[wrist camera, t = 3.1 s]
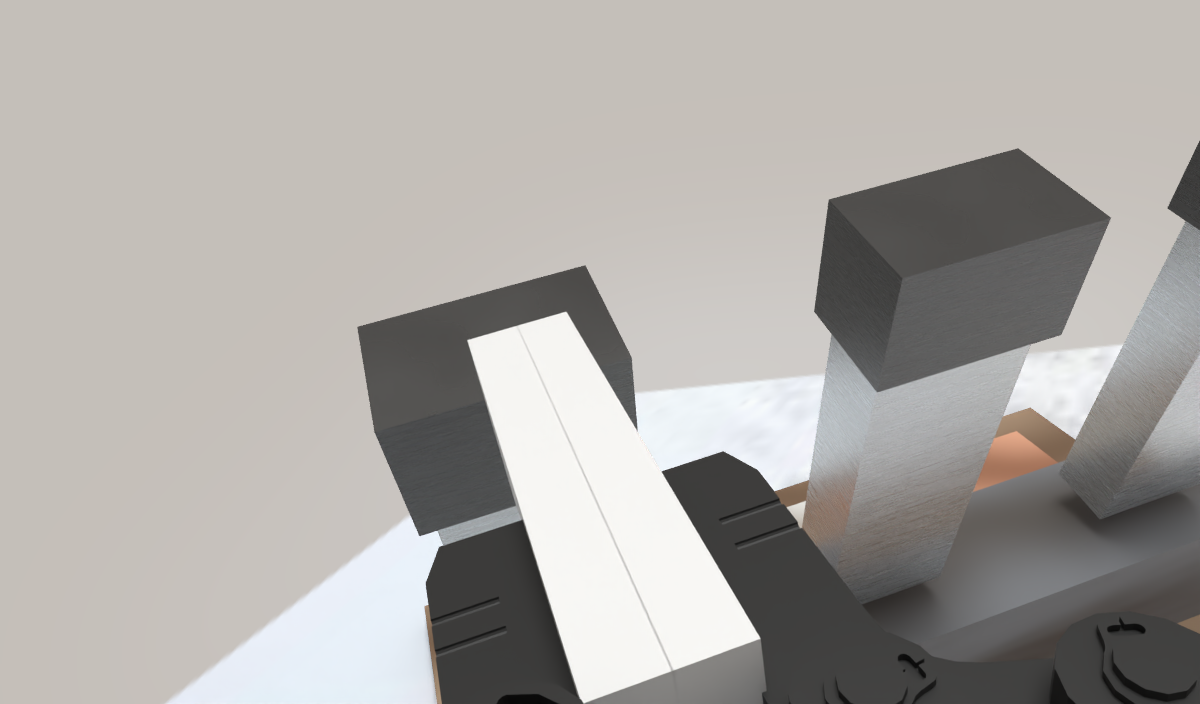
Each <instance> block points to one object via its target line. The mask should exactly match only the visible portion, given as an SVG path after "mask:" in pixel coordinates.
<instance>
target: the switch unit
mask: <svg viewBox="0 0 1200 704" xmlns="http://www.w3.org/2000/svg"><path fill="white" fill-rule="evenodd" d="M1074 442H1075V439H1073V438H1072V437H1071V436H1069V435H1068V434H1066V433H1065V432H1064V431H1062V430H1061V429H1059V428H1058V427H1057V426H1055V425H1054V424H1052V423H1051V422H1050V421H1048V420H1047V419H1045V418H1044V417H1043V416H1041V415H1040V414H1038V413H1037V412H1036V411H1034V410H1033V409H1031V408H1028V409H1025V410H1022V411H1019V412H1016V413H1013V414H1010V415H1006V416H1003V417H1002V419H1001V422H1000V424H999V427H998V430H997V432H996V435H995V437H994V440H993V442H992V445H991V447H990V450H989V452H988V455H987V458H986V460H985V463H984V465H983V468H982V470H981V473H980V475H979V478H978V480H977V483H976V486H975V488H974V491H973V493H972V496H971V498H970V501H969V503H968V506H967V508H966V511H965V514H964V516H963V519H962V521H961V524H960V526H959V529H958V531H957V534H956V536H955V539H954V542H953V544H952V547H951V549H950V552H949V554H948V557H947V559H946V562H945V564H944V567H943V570H942V572H941V575H940V577H938V578H935V579H932V580H929V581H927V582H924V583H921V584H918V585H915V586H913V587H910V588H907V589H904V590H901V591H899V592H896V593H893V594H890V595H888V596H885V597H882V598H879V599H876V600H874V601H871V602H868V603H865V604H862V606H863V607H864V608H865V609H866V611H867V612H868V613H869V615H870V616H871V617H872V618H873V619H874V620H875V621H876V622H877V623H878V625H879V626H880V627H881V628H882V629H883V630H884V631H885V632H888V633H892V634H894V635H897V636H899V637H901V638H904V639H906V640H908V641H910V642H913V643H915V644H917V645H920V646H921V647H922V648H923V649H924V650H925V651H927V652H928V653H929V654H930V655H931V656H933V657H938V658H942V659H947V660H951V661H956V662H998V661H1015V660H1033V659H1050V658H1054V657H1055V650H1056V643H1057V642H1058V641H1059V639H1060V638H1061V637H1062V635H1063V634H1064V633H1065V631H1066V630H1067V629H1068V628H1069V626H1070V625H1071V624H1073V623H1075V622H1078V621H1080V620H1082V619H1085V618H1087V617H1089V616H1091V615H1094V614H1096V613H1110V612H1126V611H1130V612H1135V613H1140V614H1145V615H1150V616H1155V617H1160V618H1165V619H1168V620H1170V621H1172V622H1175V623H1177V624H1179V625H1181V626H1184V627H1186V628H1188V629H1190V630H1192V631H1195V632H1197V633H1199V634H1200V484H1198V485H1195V486H1192V487H1189V488H1187V489H1184V490H1181V491H1178V492H1175V493H1173V494H1170V495H1167V496H1164V497H1161V498H1159V499H1156V500H1153V501H1150V502H1147V503H1145V504H1142V505H1139V506H1136V507H1134V508H1131V509H1128V510H1125V511H1122V512H1120V513H1117V514H1114V515H1111V516H1108V517H1106V518H1103V519H1099V518H1098V517H1097V516H1096V514H1095V513H1094V512H1093V511H1092V510H1091V509H1090V508H1089V507H1088V506H1087V505H1086V503H1085V502H1084V501H1083V500H1082V499H1081V498H1080V497H1079V496H1078V495H1077V493H1076V492H1075V491H1074V490H1073V489H1072V488H1071V487H1070V486H1069V485H1068V484H1067V482H1066V481H1065V480H1064V479H1063V478H1062V477H1061V476H1060V475H1059V472H1060V470H1061V468H1062V466H1063V464H1064V462H1065V460H1066V458H1067V456H1068V454H1069V452H1070V450H1071V448H1072V446H1073V444H1074ZM808 484H809V480H808V481H805V482H802V483H799V484H796V485H793V486H790V487H787V488H784V489H781V490H778V491H775V493H776V494H777V496H778V497H779V498H780V502H781V504H784V505H785V506H786V507H787V509H788V510H789V511H790V512H791V514H792V515H793V516H794V518H795V519H796V520H797V522H798V525H799V527H800V528H802V523H803V517H804V510H805V504H806V497H807V491H808ZM425 614H426V621H427V629H428V636H429V644H430V651H431V659H432V667H433V674H434V682H435V689H436V697H437V704H442V701H441V694H440V686H439V679H438V671H437V664H436V658H437V657H436V653H435V649H434V642H433V634H432V623H431V619H430V612H429V605H427V606H425Z"/></svg>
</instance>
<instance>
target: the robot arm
mask: <svg viewBox="0 0 1200 704" xmlns="http://www.w3.org/2000/svg"><path fill="white" fill-rule="evenodd" d="M467 341H468V344H469V348H470V351H471V354H472V358H473V361H474V365H475V368H476V371H477V375H478V378H479V382H480V385H481V388H482V392H483V395H484V399H485V402H486V405H487V409H488V412H489V416H490V419H491V422H492V426H493V429H494V433H495V436H496V440H497V443H498V446H499V450H500V453H501V457H502V460H503V463H504V467H505V470H506V474H507V477H508V480H509V484H510V487H511V490H512V494H513V497H514V500H515V503H516V507H517V510H518V513H519V516H520V519H521V520H520V521H517V522H514V523H511V524H508V525H505V526H502V527H499V528H496V529H493V530H490V531H487V532H483V533H480V534H477V535H474V536H471V537H468V538H465V539H462V540H459V541H456V542H453V543H450V544H447V545H444V546H441V547H439V549H438V552H437V554H436V557H435V560H434V562H433V565H432V568H431V570H430V573H429V576H428V579H427V581H426V590H427V597H428V604H429V612H430V619H431V623H432V634H433V642H434V649H435V653H436V657H437V658H436V664H437V671H438V679H439V686H440V694H441V701H442V704H1200V634H1199V633H1197V632H1195V631H1192V630H1190V629H1188V628H1186V627H1184V626H1181V625H1179V624H1177V623H1175V622H1172V621H1170V620H1168V619H1165V618H1160V617H1155V616H1150V615H1145V614H1140V613H1135V612H1130V611H1126V612H1110V613H1096V614H1094V615H1091V616H1089V617H1087V618H1085V619H1082V620H1080V621H1078V622H1075V623H1073V624H1071V625H1070V626H1069V628H1068V629H1067V630H1066V631H1065V633H1064V634H1063V635H1062V637H1061V638H1060V639H1059V641H1058V642H1057V643H1056V650H1055V657H1054V658H1050V659H1033V660H1015V661H998V662H956V661H951V660H947V659H942V658H938V657H933V656H931V655H930V654H929V653H928V652H927V651H925V650H924V649H923V648H922V647H921V646H920V645H917V644H915V643H913V642H910V641H908V640H906V639H904V638H901V637H899V636H897V635H894V634H892V633H888V632H885V631H884V630H883V629H882V628H881V627H880V626H879V625H878V623H877V622H876V621H875V620H874V619H873V618H872V617H871V616H870V615H869V613H868V612H867V611H866V609H865V608H864V607H863V606H862V604H861V603H860V602H859V600H858V599H857V598H856V597H855V595H854V594H853V593H852V591H851V590H850V589H849V587H848V586H847V585H846V584H845V582H844V581H843V580H842V578H841V577H840V576H839V575H838V573H837V572H836V571H835V569H834V568H833V567H832V566H831V564H830V563H829V562H828V560H827V559H826V558H825V556H824V555H823V554H822V553H821V551H820V550H819V549H818V547H817V546H816V545H815V544H814V542H813V541H812V540H811V538H810V537H809V536H808V534H807V533H806V532H805V531H804V529H803V528H800V527H799V525H798V522H797V520H796V519H795V518H794V516H793V515H792V514H791V512H790V511H789V510H788V509H787V507H786V506H785V505H784V504H781V502H780V498H779V497H778V496H777V494H776V493H775V492H774V490H773V489H772V488H771V487H770V485H769V484H768V483H767V481H766V480H765V479H764V478H763V476H762V475H761V474H760V472H759V471H758V470H757V469H755V468H753V467H751V466H749V465H747V464H746V463H744V462H742V461H740V460H738V459H736V458H735V457H733V456H731V455H729V454H727V453H725V452H724V451H723V452H720V453H717V454H714V455H711V456H708V457H705V458H702V459H699V460H695V461H692V462H689V463H686V464H683V465H680V466H677V467H674V468H671V469H668V470H665V471H662V472H661V470H660V469H659V467H658V465H657V464H656V462H655V460H654V458H653V457H652V455H651V453H650V452H649V450H648V448H647V447H646V445H645V443H644V442H643V440H642V438H641V437H640V435H639V433H638V432H637V430H636V428H635V427H634V425H633V423H632V421H631V420H630V418H629V416H628V415H627V413H626V411H625V410H624V408H623V406H622V405H621V403H620V401H619V400H618V398H617V396H616V395H615V393H614V391H613V389H612V388H611V386H610V384H609V383H608V381H607V379H606V378H605V376H604V374H603V373H602V371H601V369H600V368H599V366H598V364H597V363H596V361H595V359H594V358H593V356H592V354H591V352H590V351H589V349H588V347H587V346H586V344H585V342H584V341H583V339H582V337H581V336H580V334H579V332H578V331H577V329H576V327H575V326H574V324H573V322H572V321H571V319H570V317H569V315H568V314H567V312H563V313H560V314H556V315H553V316H549V317H546V318H543V319H539V320H536V321H532V322H529V323H525V324H522V325H518V326H515V327H511V328H508V329H504V330H501V331H497V332H494V333H491V334H487V335H484V336H480V337H477V338H473V339H470V340H467Z"/></svg>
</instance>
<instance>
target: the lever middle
mask: <svg viewBox="0 0 1200 704" xmlns="http://www.w3.org/2000/svg"><path fill="white" fill-rule="evenodd" d="M1110 219H1111V218H1110V217H1109V216H1108V215H1106V214H1105V213H1104V212H1103V211H1101V210H1100V209H1098V208H1097V207H1096V206H1094V205H1093V204H1092V203H1091V202H1089V201H1088V200H1087V199H1085V198H1084V197H1082V196H1081V195H1080V194H1078V193H1077V192H1076V191H1074V190H1073V189H1072V188H1070V187H1069V186H1068V185H1066V184H1065V183H1064V182H1062V181H1061V180H1060V179H1058V178H1057V177H1056V176H1054V175H1053V174H1052V173H1050V172H1049V171H1048V170H1046V169H1045V168H1043V167H1042V166H1041V165H1040V164H1038V163H1037V162H1036V161H1034V160H1033V159H1032V158H1030V157H1029V156H1028V155H1026V154H1025V153H1024V152H1022V151H1021V150H1019V149H1015V150H1011V151H1007V152H1003V153H1000V154H996V155H992V156H989V157H985V158H981V159H978V160H974V161H970V162H966V163H963V164H959V165H955V166H952V167H948V168H945V169H941V170H937V171H933V172H929V173H926V174H922V175H918V176H915V177H911V178H907V179H903V180H900V181H896V182H892V183H889V184H885V185H881V186H878V187H874V188H870V189H867V190H863V191H859V192H855V193H852V194H848V195H844V196H840V197H837V198H833V199H830V200H829V203H828V210H827V218H826V226H825V234H824V241H823V249H822V256H821V264H820V272H819V279H818V287H817V295H816V302H815V310H814V312H815V313H816V314H817V316H818V317H819V318H820V319H821V321H822V322H823V323H824V325H825V326H826V327H827V329H828V330H829V331H830V332H831V334H832V336H831V342H830V348H829V355H828V361H827V368H826V374H825V381H824V387H823V394H822V400H821V407H820V413H819V420H818V426H817V433H816V439H815V446H814V452H813V459H812V465H811V472H810V478H809V484H808V491H807V497H806V504H805V510H804V517H803V523H802V528H803V529H804V531H805V532H806V533H807V534H808V536H809V537H810V538H811V540H812V541H813V542H814V544H815V545H816V546H817V547H818V549H819V550H820V551H821V553H822V554H823V555H824V556H825V558H826V559H827V560H828V562H829V563H830V564H831V566H832V567H833V568H834V569H835V571H836V572H837V573H838V575H839V576H840V577H841V578H842V580H843V581H844V582H845V584H846V585H847V586H848V587H849V589H850V590H851V591H852V593H853V594H854V595H855V597H856V598H857V599H858V600H859V602H860V603H861V604H865V603H868V602H871V601H874V600H876V599H879V598H882V597H885V596H888V595H890V594H893V593H896V592H899V591H901V590H904V589H907V588H910V587H913V586H915V585H918V584H921V583H924V582H927V581H929V580H932V579H935V578H938V577H940V575H941V572H942V570H943V567H944V564H945V562H946V559H947V557H948V554H949V552H950V549H951V547H952V544H953V542H954V539H955V536H956V534H957V531H958V529H959V526H960V524H961V521H962V519H963V516H964V514H965V511H966V508H967V506H968V503H969V501H970V498H971V496H972V493H973V491H974V488H975V486H976V483H977V480H978V478H979V475H980V473H981V470H982V468H983V465H984V463H985V460H986V458H987V455H988V452H989V450H990V447H991V445H992V442H993V440H994V437H995V435H996V432H997V430H998V427H999V424H1000V422H1001V419H1002V417H1003V414H1004V412H1005V409H1006V407H1007V404H1008V402H1009V399H1010V396H1011V394H1012V391H1013V389H1014V386H1015V384H1016V381H1017V379H1018V376H1019V374H1020V371H1021V369H1022V366H1023V363H1024V361H1025V358H1026V356H1027V353H1028V351H1029V348H1030V346H1031V344H1033V343H1037V342H1040V341H1043V340H1046V339H1049V338H1052V337H1055V336H1059V335H1061V334H1062V332H1063V330H1064V327H1065V325H1066V323H1067V320H1068V318H1069V316H1070V313H1071V311H1072V308H1073V306H1074V304H1075V301H1076V299H1077V297H1078V294H1079V292H1080V289H1081V287H1082V285H1083V283H1084V280H1085V277H1086V275H1087V273H1088V271H1089V268H1090V266H1091V264H1092V261H1093V259H1094V256H1095V254H1096V252H1097V250H1098V247H1099V245H1100V242H1101V240H1102V238H1103V235H1104V233H1105V231H1106V228H1107V226H1108V224H1109V221H1110Z"/></svg>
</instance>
